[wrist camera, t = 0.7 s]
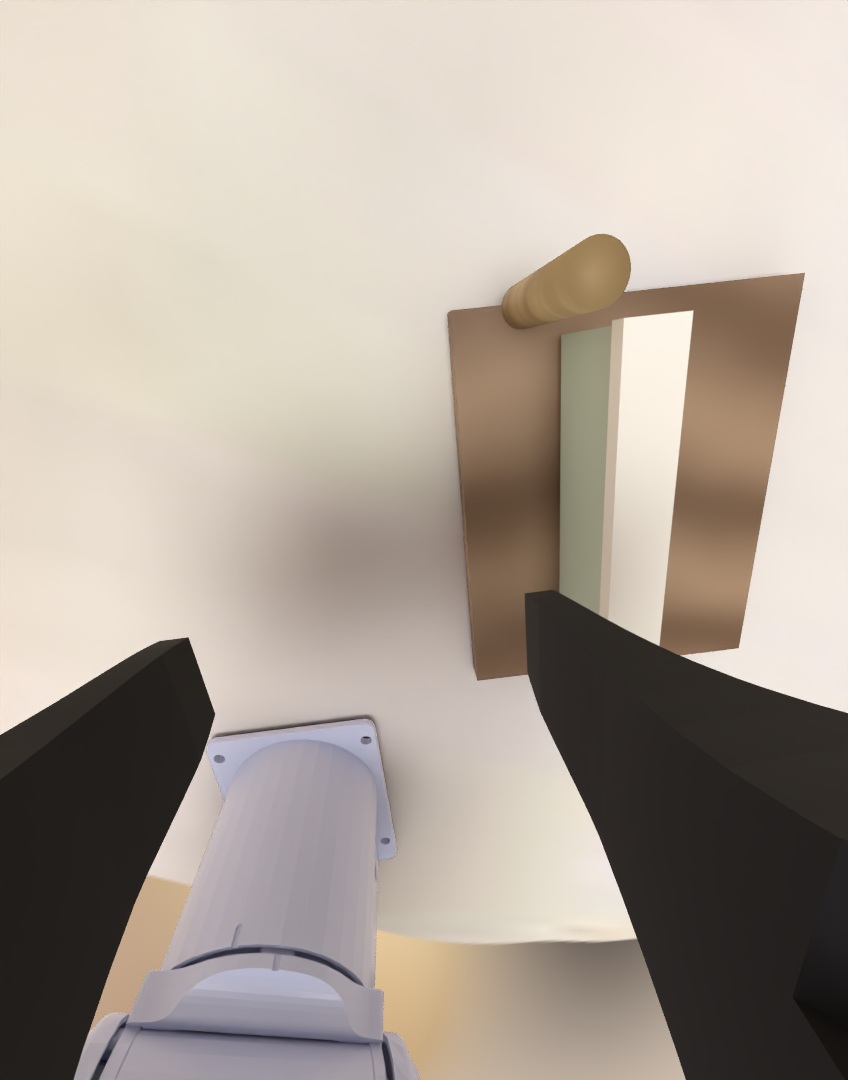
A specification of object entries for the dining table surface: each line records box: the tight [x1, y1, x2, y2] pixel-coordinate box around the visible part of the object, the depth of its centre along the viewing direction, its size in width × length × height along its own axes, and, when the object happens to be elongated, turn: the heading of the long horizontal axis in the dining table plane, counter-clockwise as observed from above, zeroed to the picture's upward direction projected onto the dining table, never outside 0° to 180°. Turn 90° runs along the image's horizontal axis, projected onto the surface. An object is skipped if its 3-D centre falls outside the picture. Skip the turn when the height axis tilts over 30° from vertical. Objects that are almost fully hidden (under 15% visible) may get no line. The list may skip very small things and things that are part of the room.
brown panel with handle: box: [448, 234, 805, 681], centre depth 16 cm, size 16×12×7 cm
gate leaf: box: [559, 311, 693, 646], centre depth 15 cm, size 11×2×5 cm, turn 6°
